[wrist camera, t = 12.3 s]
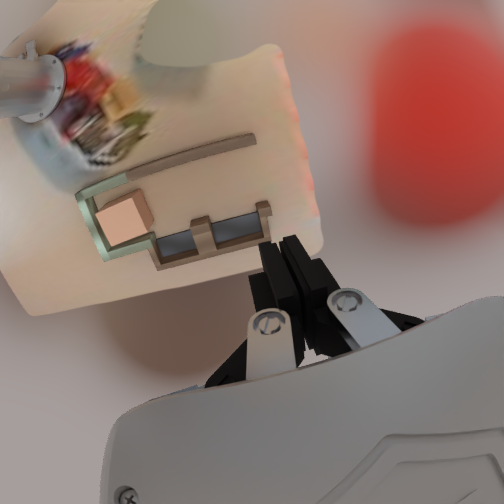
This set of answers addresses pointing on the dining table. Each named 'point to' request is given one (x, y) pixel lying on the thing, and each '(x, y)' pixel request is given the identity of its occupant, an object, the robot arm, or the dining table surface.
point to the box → (201, 230)
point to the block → (125, 218)
